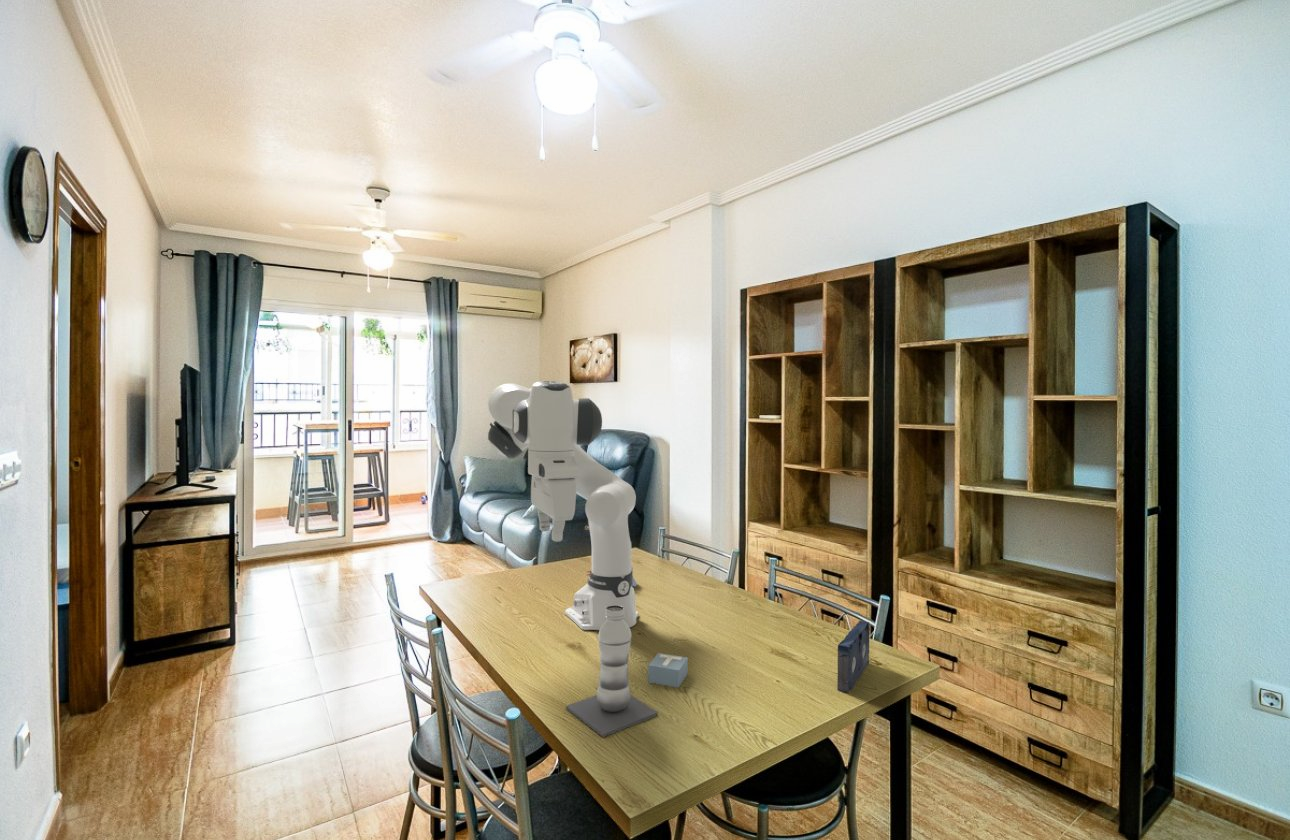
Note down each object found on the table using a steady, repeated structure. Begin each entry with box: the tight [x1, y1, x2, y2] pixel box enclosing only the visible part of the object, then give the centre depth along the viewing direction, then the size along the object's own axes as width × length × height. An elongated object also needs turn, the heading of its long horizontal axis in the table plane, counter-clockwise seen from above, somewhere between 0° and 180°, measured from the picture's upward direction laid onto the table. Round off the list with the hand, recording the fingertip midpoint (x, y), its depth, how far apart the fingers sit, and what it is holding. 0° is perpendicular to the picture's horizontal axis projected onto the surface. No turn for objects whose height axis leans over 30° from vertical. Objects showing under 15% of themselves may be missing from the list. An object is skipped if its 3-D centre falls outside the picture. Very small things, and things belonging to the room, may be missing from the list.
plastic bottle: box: [596, 605, 632, 712], centre depth 118 cm, size 6×7×20 cm
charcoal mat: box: [565, 694, 659, 738], centre depth 118 cm, size 13×13×1 cm
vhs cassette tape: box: [836, 620, 871, 694], centre depth 136 cm, size 18×3×10 cm, turn 145°
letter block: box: [647, 652, 689, 688], centre depth 133 cm, size 7×7×4 cm
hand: (550, 535), depth 117 cm, fingers open, 8 cm apart
